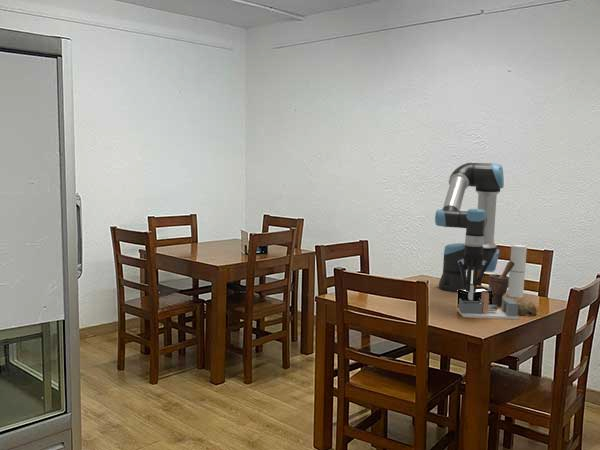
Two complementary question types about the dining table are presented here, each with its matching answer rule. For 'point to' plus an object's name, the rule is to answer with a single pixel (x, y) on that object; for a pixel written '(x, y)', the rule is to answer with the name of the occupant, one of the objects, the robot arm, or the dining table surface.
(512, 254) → the cylindrical container
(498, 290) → the mortar and pestle
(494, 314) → the guide base
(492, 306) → the slip tube
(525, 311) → the bread roll
